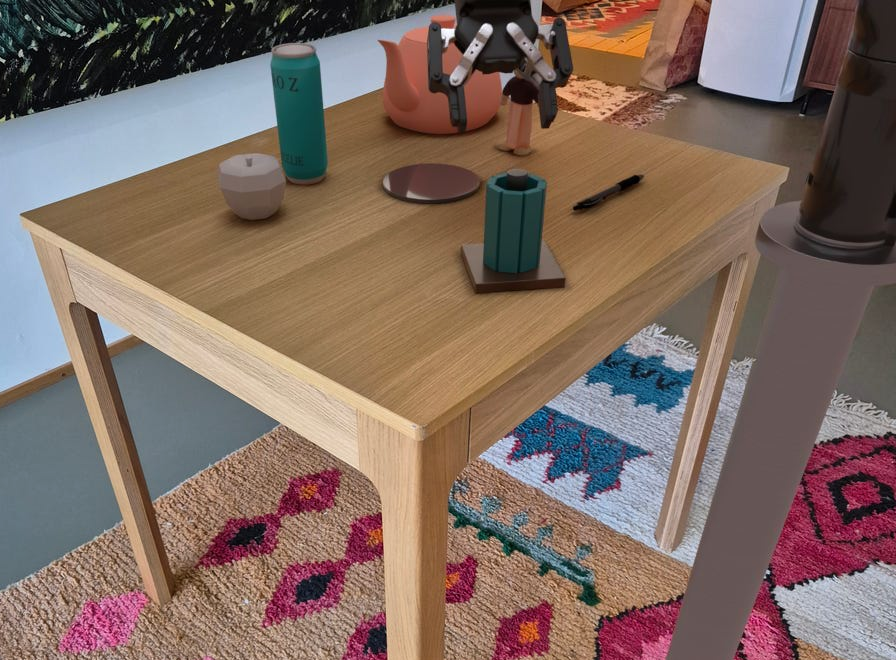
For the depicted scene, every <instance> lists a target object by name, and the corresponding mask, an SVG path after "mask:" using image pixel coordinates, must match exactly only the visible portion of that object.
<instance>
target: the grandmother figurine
mask: <svg viewBox="0 0 896 660" xmlns="http://www.w3.org/2000/svg"><path fill="white" fill-rule="evenodd" d="M525 60H526V61H527V58H525ZM527 62H528V61H527ZM513 74H514V75H513V77H511V78H510V79H508V81H507V82H506V84H505V85H504V87H502V95H501V99H500V101H499V102H500V104H501V105H500V106H506V105H507V104H508V100H509V98H510V101H509V107H508V119H507V128H506V134H505V135H506V136H505V137H506V138H505V141H502V142H501V143H500V144H499V147H498V149H499V150H501V151H506V152H507V151H513V154H514V155H518V156H527V155H528V154H530V153H531V152H532V147H531V146H530V143H531V136H532V135H531V134H532V129H533V127H532V126H533V104H534V103H535V104H536V105H537V107H538V108H539V104H538V93H539V90H538V89H537V88H536V87H535V86H534V85H533V84H532V83H531V82H530V81H526V80H525V79H524V78H523V77H522V76H521V75H520V74H519V72H518V71H517V70H514V71H513Z"/></svg>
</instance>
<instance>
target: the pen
mask: <svg viewBox="0 0 896 660" xmlns="http://www.w3.org/2000/svg"><path fill="white" fill-rule="evenodd" d="M644 178H645V175H644V174H643V173H640V174H639V173H638V174H634V175H632V176H629V177H627V178H625V179H622V180H620V181H618V182H617V183H615V184H614V185H612V186H609V187H608V188H605V189H604V190H601V191H599V192H597V193H595V194H592V195H591V196H588V197H586V198H583V199H581V200H580V201H578V202H576V204H575V205H573V206H572V211H575V212H576V211H582V210H587V209H591V208H595V207H597V206H598V205H599V204H600V203H601V202H602V201H605V200H606V199H607V198H609V197H610V196H613V195H614V194H615V195H616V194H617V193H621V192H623V191H626V190H627V189H629V188H632V187H633V186H635V185H638V184H639V183H640V182H641V181H643V179H644Z"/></svg>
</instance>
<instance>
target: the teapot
mask: <svg viewBox="0 0 896 660" xmlns="http://www.w3.org/2000/svg"><path fill="white" fill-rule="evenodd" d="M429 20H430V24H431V23H432V22H437V23H439V24H440V25H441V28H450V29H455V28H456V26H457V25H455V24H456V21H457V20H456V16H454V15H451V14H435V15H433V16H431V17H430V19H429ZM428 31H429V25H425V26H422V27H417V28H414V29H411V30H409V31H407V32H405V34H403V35H402V37H401V38H400V40H399V42H398V43H397V42H395V41H390V40H384V39H377V42H378V43H379V44H380V45H381V46H382V48H383V50H384V52H385V58H386V65H385V66H386V68H385V77H384V83H383V88H382V105H383V108H384V111H385V112H386V113H387V115H388V117H389V118H390V119H391V120H392V121H393V122H394V123H395V124H396V125H397V126H399V127H401V128H404V129H407V130H409V131H414V132H418V133H422V134H432V135H450V134H459V133H458V131H457V127H452V125H451V123H450V114H449V104H448V98H447V96H446V95H445V94H443V93H440V92H438V93H431V92H430V91H429V89H428V62H427V38H428ZM462 56H463V54H462V53H461V52H460V51H459V50H458V49H457V47H456V46H455V44H454V43H451V44H449V46H448V50H447V51H446V52H445V53H443V54H442V66H443V73H445V74H448V75H451V74H452V73H453V71H454V70H455V68H456V67H457V65H458V64H459V62H460V60H461V58H462ZM500 73H501V72H495V73H492V74H482V72H480V71H478V70H476V71H475V72H474V74H473V75H472V77H471V79H470V80H469V82H468V83H467V84H465V86H464V93H465V103H466V113H467V127H466V130H465V132H468V131H472V130H476V129H478V128H482V127H483V126H485V125H486V124H488V123H489V122H490V121H491V120H492V118H493V117H494V116H495V115H496V113H497V112H498V111H499V109H500V107H501V106H502V105H501V104H500V102H499V101H500V99H501V95H502V91H503V86H502V85H503V84H502V79H501V78H502V77H501V75H500Z"/></svg>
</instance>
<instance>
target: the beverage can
mask: <svg viewBox="0 0 896 660" xmlns="http://www.w3.org/2000/svg"><path fill="white" fill-rule="evenodd" d="M271 54H272V56H271V59H270V63H269V67H270V74H271V75H270V76H271V83H272V91H273V100H274V101H273V102H274V109H275V116H276V117H275V118H276V125H277V135H278V143H279V144H278V145H279V152H280V161H281V168H282V171H283V173H284V175H285V176H286V178H287V179H288V181H289V182H291V183H293V184H295V185H314V184H316V183H320V182H321V181H322V180H324V178H325V176H326V174H327V173H326V172H327V169H328V165H329V161H328V159H329V158H328V147H327V135H326V121H325V110H324V109H325V108H324V98H323V85H322V72H321V61H320V59H319V57H318V54H317V47H316V46H315V45H314V44H310V43H304V42H289V43H282V44H278V45H275V46H273V47H272V48H271Z"/></svg>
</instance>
